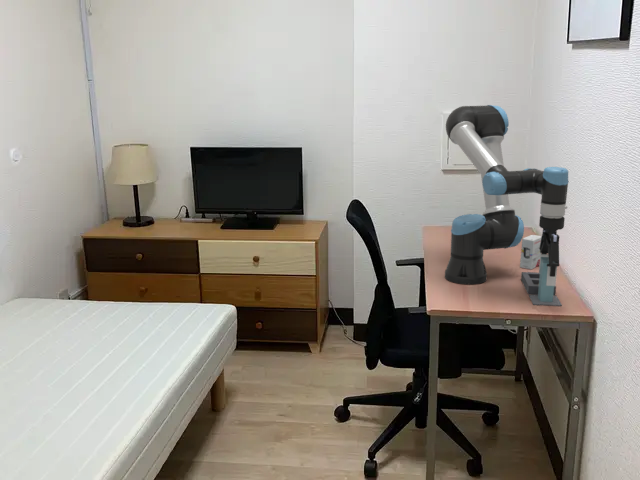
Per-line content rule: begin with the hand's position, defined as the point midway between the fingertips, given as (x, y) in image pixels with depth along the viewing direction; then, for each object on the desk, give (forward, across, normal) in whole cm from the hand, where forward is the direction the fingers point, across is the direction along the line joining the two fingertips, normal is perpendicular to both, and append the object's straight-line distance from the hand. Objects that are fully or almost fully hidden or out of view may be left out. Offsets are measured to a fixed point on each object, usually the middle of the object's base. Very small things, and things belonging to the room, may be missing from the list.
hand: (546, 279), depth 210 cm
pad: (+8, 0, 0) cm, 8 cm away
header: (+8, +14, 0) cm, 16 cm away
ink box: (+8, +40, -2) cm, 41 cm away
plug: (+7, 0, 0) cm, 7 cm away
